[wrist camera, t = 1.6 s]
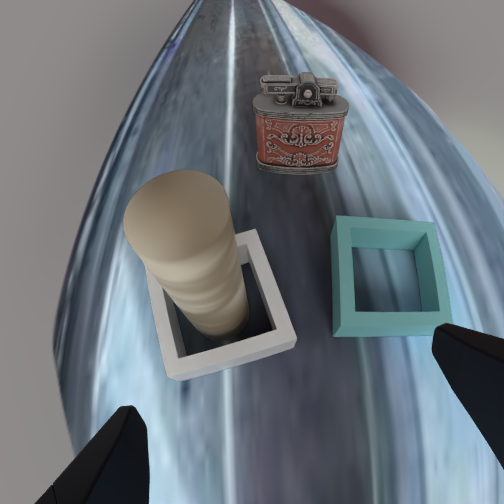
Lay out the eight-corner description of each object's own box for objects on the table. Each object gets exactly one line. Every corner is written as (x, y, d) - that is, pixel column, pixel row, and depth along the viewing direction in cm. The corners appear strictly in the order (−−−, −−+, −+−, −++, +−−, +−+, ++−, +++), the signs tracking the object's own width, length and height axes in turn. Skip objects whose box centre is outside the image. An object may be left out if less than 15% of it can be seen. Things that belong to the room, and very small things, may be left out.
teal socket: (434, 335, 22) (452, 324, 19) (332, 336, 22) (340, 326, 20) (421, 241, 26) (434, 222, 23) (330, 235, 26) (336, 215, 24)
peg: (215, 352, 22) (157, 283, 11) (180, 309, 24) (107, 210, 13) (261, 315, 24) (252, 212, 12) (224, 274, 25) (189, 155, 14)
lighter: (334, 151, 31) (348, 69, 22) (339, 175, 30) (357, 90, 21) (256, 150, 32) (251, 66, 23) (256, 174, 30) (250, 86, 21)
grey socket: (293, 347, 22) (297, 338, 20) (179, 381, 21) (167, 376, 19) (257, 248, 26) (255, 228, 24) (156, 278, 25) (144, 262, 23)
